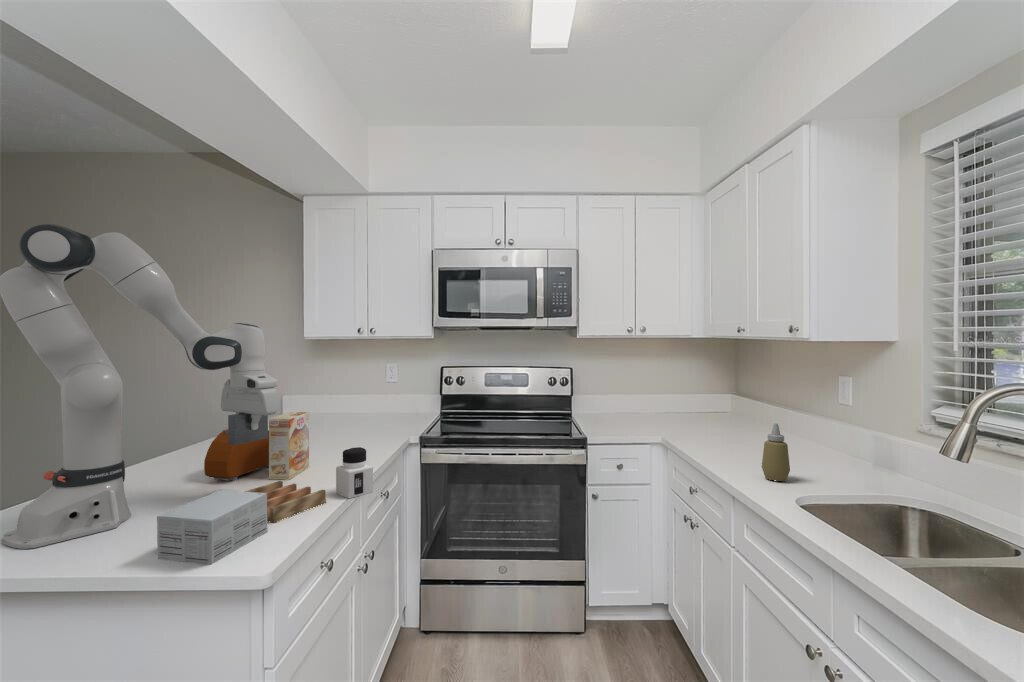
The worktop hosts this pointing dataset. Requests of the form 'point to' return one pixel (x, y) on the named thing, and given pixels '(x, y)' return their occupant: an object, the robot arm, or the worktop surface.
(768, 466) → the squeeze bottle
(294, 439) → the coffeecake box
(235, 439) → the block
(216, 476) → the orange rounded block
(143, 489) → the worktop surface
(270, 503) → the rack
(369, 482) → the container
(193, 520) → the supplement box
